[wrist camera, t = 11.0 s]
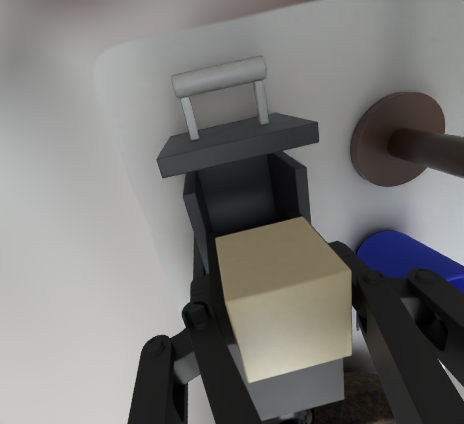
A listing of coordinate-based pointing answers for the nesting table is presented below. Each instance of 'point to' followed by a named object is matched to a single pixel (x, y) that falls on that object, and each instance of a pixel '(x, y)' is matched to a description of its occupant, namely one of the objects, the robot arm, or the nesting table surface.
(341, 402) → the bowl
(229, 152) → the drawer
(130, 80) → the nesting table surface
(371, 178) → the paper towel holder
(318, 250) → the cream foam cube
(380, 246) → the mug
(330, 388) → the cabinet
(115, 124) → the nesting table surface
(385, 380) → the robot arm
